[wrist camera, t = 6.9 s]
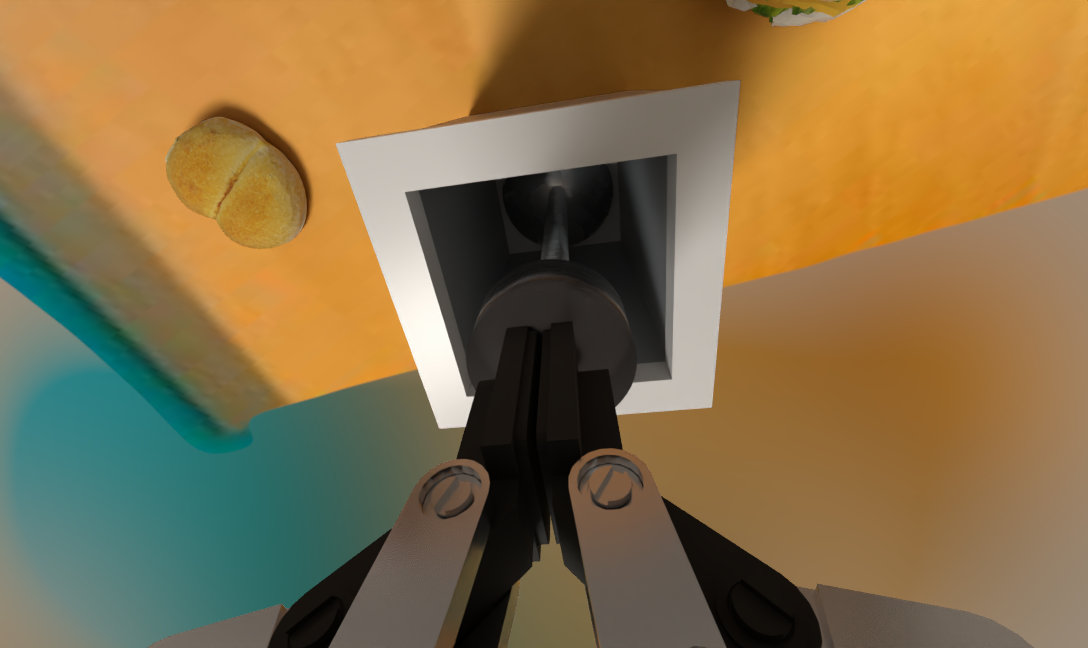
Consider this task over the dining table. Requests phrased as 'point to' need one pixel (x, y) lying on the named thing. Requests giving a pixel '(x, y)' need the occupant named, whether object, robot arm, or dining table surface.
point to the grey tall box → (612, 251)
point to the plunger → (557, 278)
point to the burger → (796, 10)
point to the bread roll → (238, 183)
